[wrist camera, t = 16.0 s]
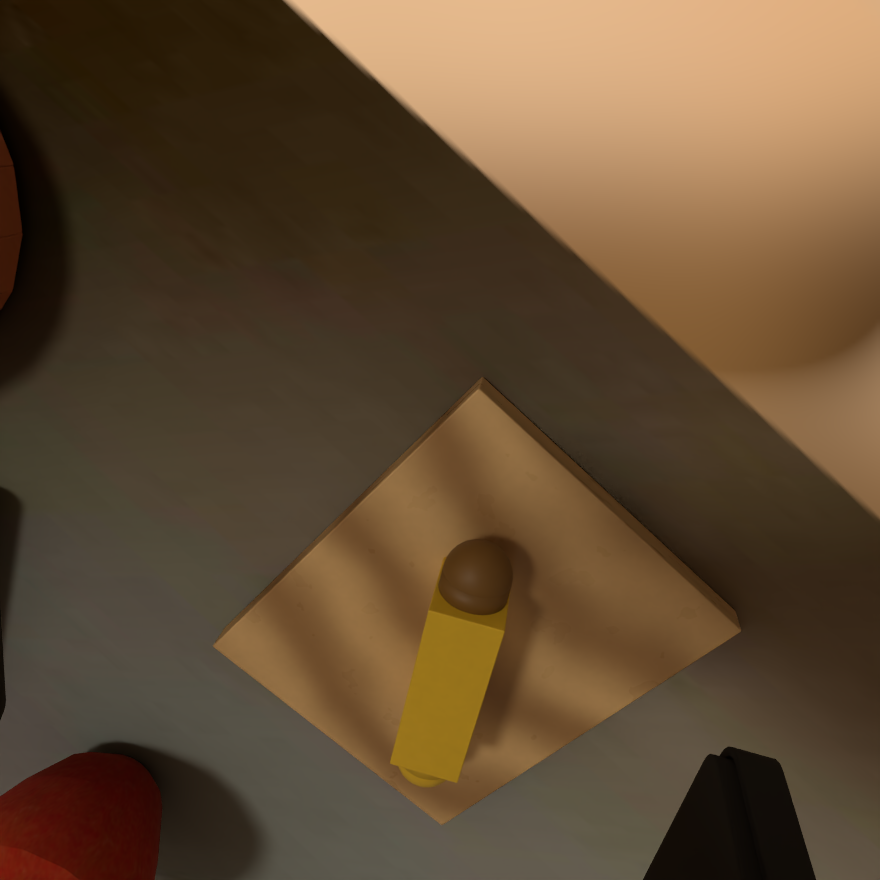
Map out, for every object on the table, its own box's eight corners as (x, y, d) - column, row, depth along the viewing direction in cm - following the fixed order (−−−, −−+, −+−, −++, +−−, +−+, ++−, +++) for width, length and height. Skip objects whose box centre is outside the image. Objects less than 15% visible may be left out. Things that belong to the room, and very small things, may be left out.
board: (482, 375, 32) (478, 388, 31) (736, 610, 35) (742, 631, 34) (224, 628, 40) (211, 646, 39) (446, 803, 43) (441, 825, 42)
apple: (157, 688, 43) (16, 888, 32) (240, 823, 47) (138, 1044, 36) (6, 718, 46) (-169, 910, 35) (95, 842, 50) (-39, 1051, 39)
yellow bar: (455, 511, 34) (440, 562, 30) (526, 530, 33) (520, 584, 30) (398, 735, 40) (380, 799, 36) (458, 752, 39) (446, 818, 36)
